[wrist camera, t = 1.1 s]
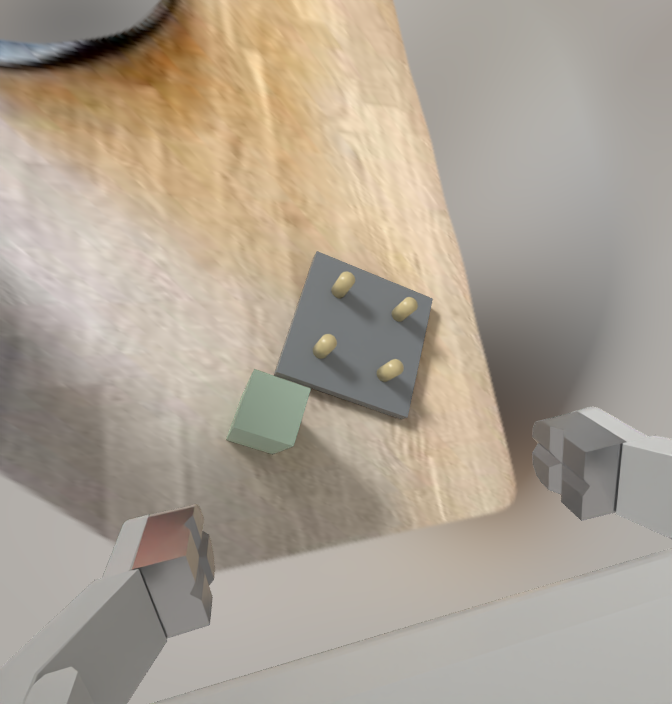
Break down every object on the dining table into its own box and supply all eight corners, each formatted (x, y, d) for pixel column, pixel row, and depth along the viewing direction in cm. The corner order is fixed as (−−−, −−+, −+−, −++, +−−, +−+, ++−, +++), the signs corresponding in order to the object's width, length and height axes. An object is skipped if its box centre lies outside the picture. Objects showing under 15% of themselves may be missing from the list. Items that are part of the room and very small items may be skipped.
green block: (226, 439, 40) (233, 427, 31) (242, 394, 42) (254, 368, 32) (272, 454, 41) (293, 446, 32) (287, 408, 42) (310, 388, 33)
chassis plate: (273, 375, 43) (281, 363, 39) (313, 257, 48) (324, 236, 44) (401, 419, 45) (421, 413, 41) (426, 303, 50) (446, 287, 46)
